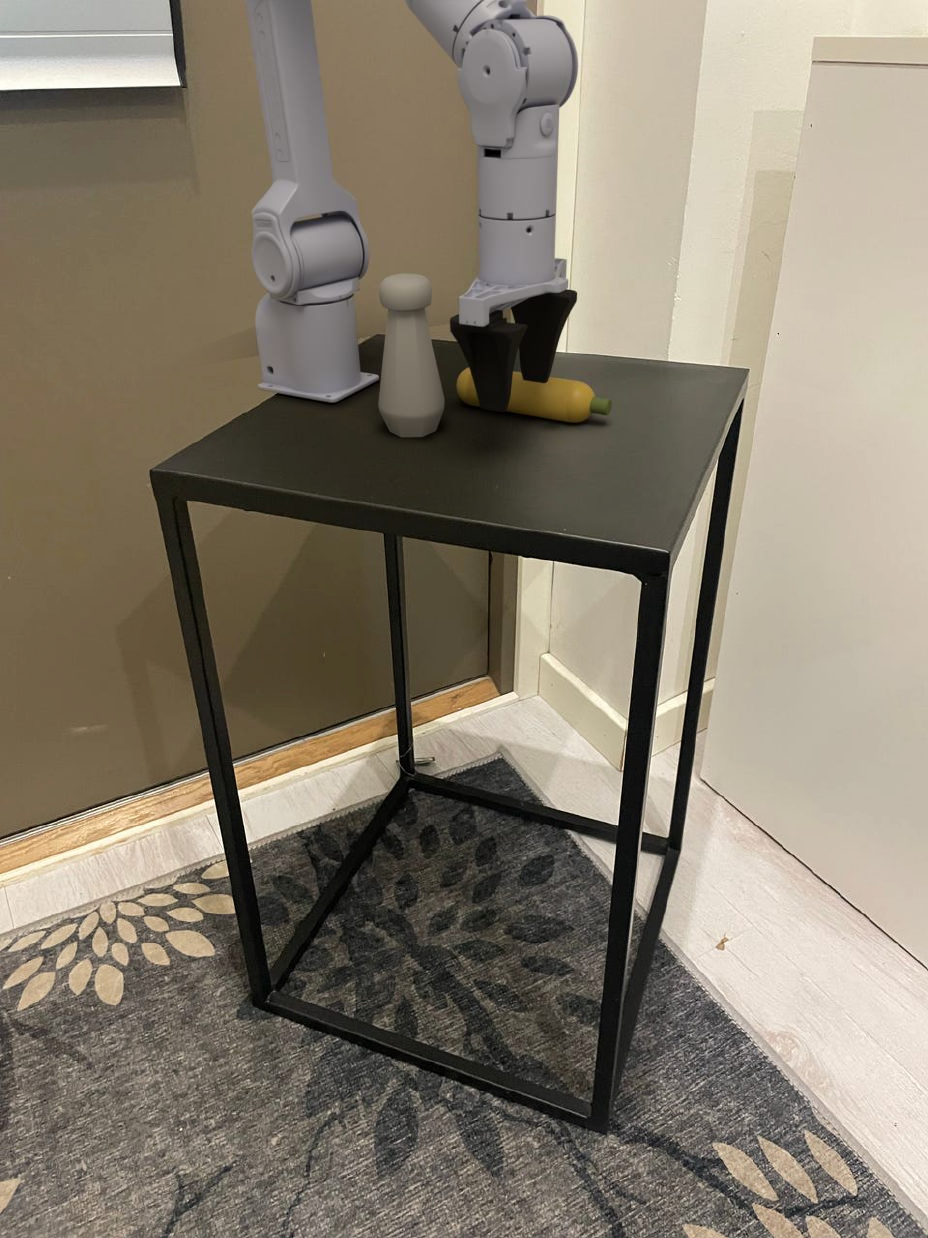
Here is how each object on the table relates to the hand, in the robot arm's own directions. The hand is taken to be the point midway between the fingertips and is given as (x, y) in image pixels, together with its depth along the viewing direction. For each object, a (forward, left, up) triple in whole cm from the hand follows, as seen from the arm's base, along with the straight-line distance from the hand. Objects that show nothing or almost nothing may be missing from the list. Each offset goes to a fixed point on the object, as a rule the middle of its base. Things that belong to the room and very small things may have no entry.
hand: (515, 394), depth 75 cm
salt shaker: (-10, 0, -5) cm, 11 cm away
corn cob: (-3, +8, -5) cm, 10 cm away
